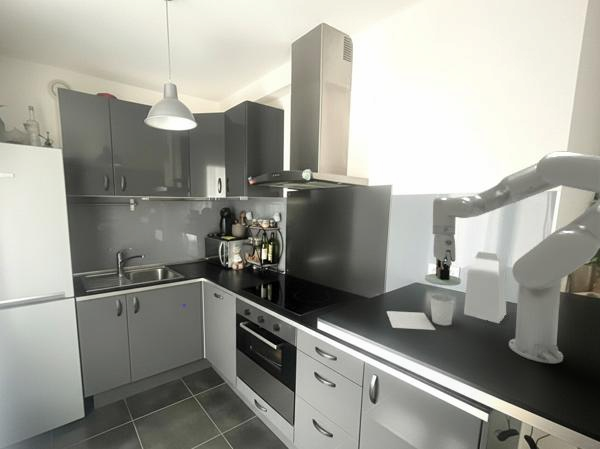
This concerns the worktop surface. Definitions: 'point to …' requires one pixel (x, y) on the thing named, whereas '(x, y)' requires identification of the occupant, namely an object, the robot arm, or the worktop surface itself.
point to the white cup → (442, 309)
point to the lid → (436, 280)
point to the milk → (486, 288)
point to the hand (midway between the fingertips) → (442, 277)
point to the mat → (409, 320)
